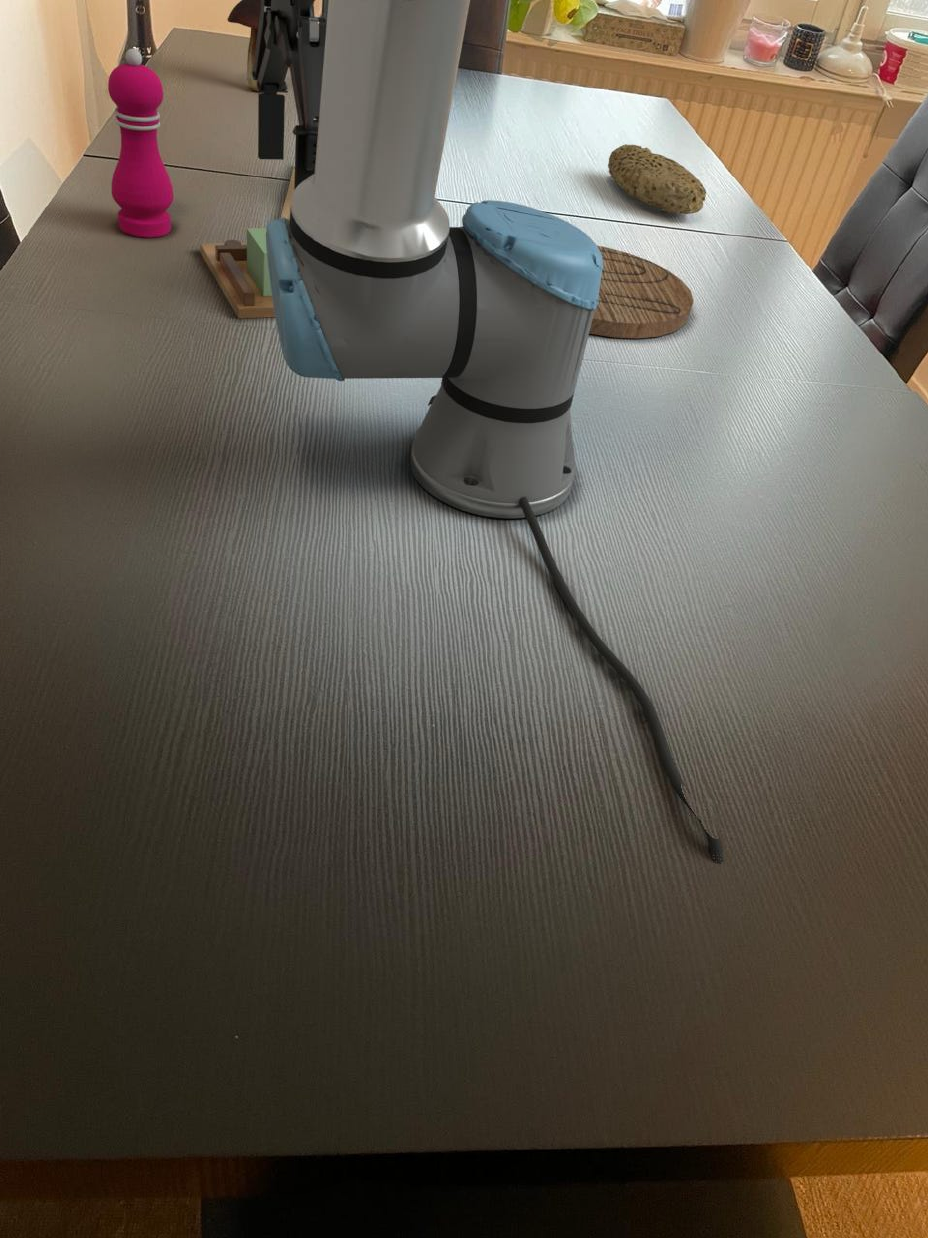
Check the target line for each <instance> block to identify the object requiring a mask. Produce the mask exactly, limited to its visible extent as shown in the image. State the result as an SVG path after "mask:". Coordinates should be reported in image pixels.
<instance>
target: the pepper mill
mask: <svg viewBox="0 0 928 1238" xmlns="http://www.w3.org/2000/svg"><path fill="white" fill-rule="evenodd" d="M125 61H126V63H122V64H119V65H117V66H116V67H114V69H113V70H112V71H111V72H110V74H109V77H108V84H107V89H108V95H109V98H110V99H111V100H112V102H113V103H114V104H115V106H116V107H117V108H116V109H115V110H114V114H115V121H114V122H115V123H116V124H117V125H118V126H119V131H120V152H119V157H118V161H117V163H116V165H115V169H114V172H113V174H112V179H111V196H112V199H113V201H114V202H115V203H116V204H117V206H119V208H120V209H119V210H118V211H117V224H118V228H119V230H120V231H121V232H123V233H125V234H126V235H130V236H132V237H137V238H145V239H146V238H147V239H148V238H151V239H152V238H161V237H163V236H166V235H168V234H170V232H171V230H172V222H171V221H172V220H171V214H170V213H169V212H168V209H169V208H170V207H171V205H172V204H173V202H174V188H173V184H172V181H171V177H170V175H169V173H168V171H167V169H166V167H165V166H166V165H165V164H164V162H163V159H162V157H161V154H160V150H159V144H158V143H159V142H158V129H159V128H160V127H161V121H160V118H161V114H160V112H158V111H157V110H158V108H159V107H160V106H161V104H162V103H163V100H164V88H163V84H162V81H161V79H160V77H159V76H158V75H157V73H156V72H155V71H154V70H153V69H151V68H150V67H149V66H146V65H144V64H142V62H143V56H142V54H141V52H140V51H139V50H138V49H137V48H129V49H128V50H127V51H126V52H125Z"/></svg>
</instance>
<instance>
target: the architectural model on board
mask: <svg viewBox="0 0 928 1238" xmlns="http://www.w3.org/2000/svg"><path fill="white" fill-rule="evenodd" d="M294 180H295V167H294V168H293V169H292V173H291V177H290V180H289V185H288V188H287V192H286V196H285V199H284V203H283V207H282V211H281V214H280V217H283V218H286V219H289V220H290V208H291V199H292V195H293V192H294Z"/></svg>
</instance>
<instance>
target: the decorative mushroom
mask: <svg viewBox="0 0 928 1238" xmlns="http://www.w3.org/2000/svg"><path fill="white" fill-rule="evenodd" d="M260 13H261V0H240V1H239V2H238V3H237V4H235V6H234V7H233V8H232V9H231V11H230V12H229V14H228V17H227V19H226V21H227V22H228V23H231V24H239V25H241V26H243V27H247V28H250V36H249V43H248V48H247V61H246V63H247V65H246V67H247V68H246V76H247V78H246V79H247V83H248V86H249V87H250V88H251V89H252V90H253V91H255V92H259V91H258V89H257V85H256V84H257V81H256V80H253V77H252V71H253V63H254V56H255V49H256V42H257V34H258V27H259V20H260Z"/></svg>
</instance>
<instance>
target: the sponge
mask: <svg viewBox="0 0 928 1238" xmlns="http://www.w3.org/2000/svg"><path fill="white" fill-rule="evenodd" d="M607 168H608V174H609V175H610V178H611V179H612V180H613V181H614V182H615V183H616V184H618V185H619V187H620V188H621V189H622V190H623V191H625V192H626V193H627V194H628V195H629V196H631V197H632V198H634V199H635V200H637V201H640V202H641V203H643V204H646V205H648V206H650V207H652V208H656V209H659V210H662V211H664V212H668V213H672V214H682V215H690V214H695V213H699V212H700V211H701V210H702V209H703V208H704V202H705V201H706V196H707V189H706V188H705V187H704V185H703V183H702V182H701V181H700V179H699V178H697V177H696V176H695V175H694V174H693V173H692V172H690V171H689V170H688V169H686V168H685V166H683V165H681V164H680V163H678V162H677V161H676V160H674V159H672V158H669V157H667V156H665V155H663V154H658V153H653V152H652V151H651V149H649V147H642V145H637V144H628V143H627V144H622V145H621V146H618V147H617V148H614V150H612V151H611V153H610V155H609V157H608V163H607Z"/></svg>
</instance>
